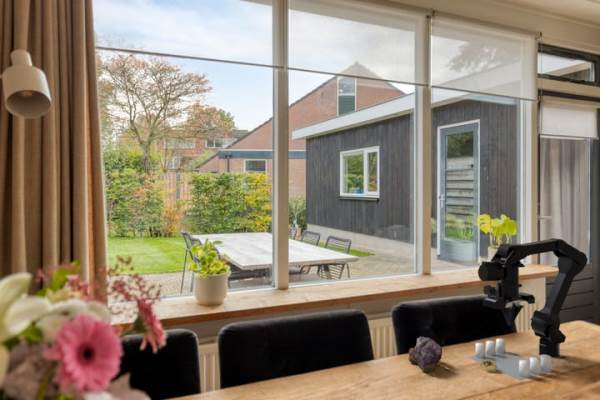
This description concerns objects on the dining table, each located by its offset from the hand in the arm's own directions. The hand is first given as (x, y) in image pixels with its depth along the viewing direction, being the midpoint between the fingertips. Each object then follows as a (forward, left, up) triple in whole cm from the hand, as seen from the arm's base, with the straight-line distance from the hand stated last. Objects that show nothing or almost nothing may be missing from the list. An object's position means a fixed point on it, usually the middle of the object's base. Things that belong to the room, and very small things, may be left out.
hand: (509, 325), depth 146 cm
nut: (+14, +4, -11) cm, 19 cm away
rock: (+29, -8, -12) cm, 33 cm away
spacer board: (+5, +4, -12) cm, 14 cm away
